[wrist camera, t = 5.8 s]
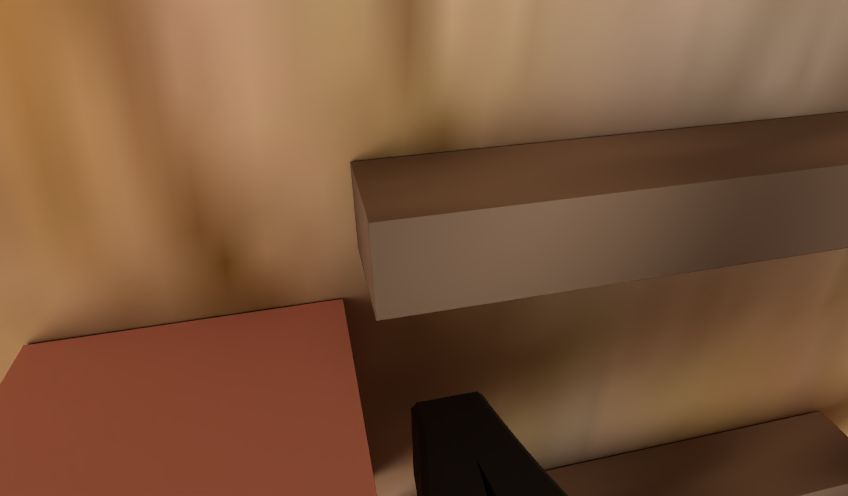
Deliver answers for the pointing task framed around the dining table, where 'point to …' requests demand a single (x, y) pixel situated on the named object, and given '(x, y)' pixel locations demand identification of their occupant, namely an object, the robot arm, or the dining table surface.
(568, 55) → the dining table surface
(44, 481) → the block
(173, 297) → the dining table surface
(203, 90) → the dining table surface
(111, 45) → the dining table surface
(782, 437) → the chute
